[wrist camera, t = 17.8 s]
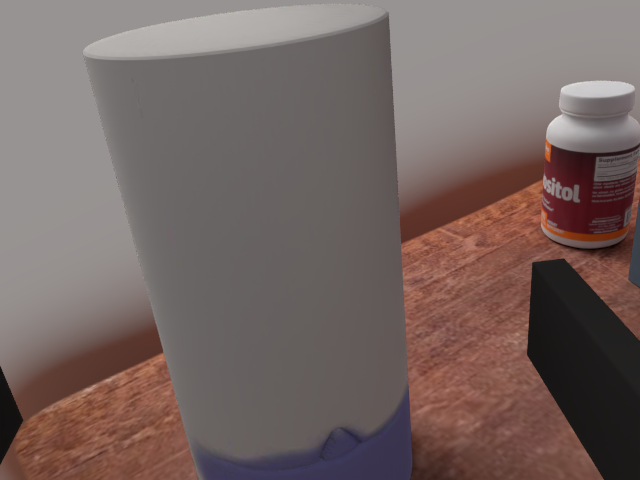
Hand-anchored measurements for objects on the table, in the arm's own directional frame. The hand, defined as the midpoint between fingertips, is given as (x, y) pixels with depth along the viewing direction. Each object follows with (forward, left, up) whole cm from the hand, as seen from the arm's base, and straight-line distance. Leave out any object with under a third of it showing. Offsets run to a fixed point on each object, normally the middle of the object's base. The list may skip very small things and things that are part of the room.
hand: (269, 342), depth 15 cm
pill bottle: (+27, +24, -14) cm, 38 cm away
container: (+1, +9, -14) cm, 16 cm away
